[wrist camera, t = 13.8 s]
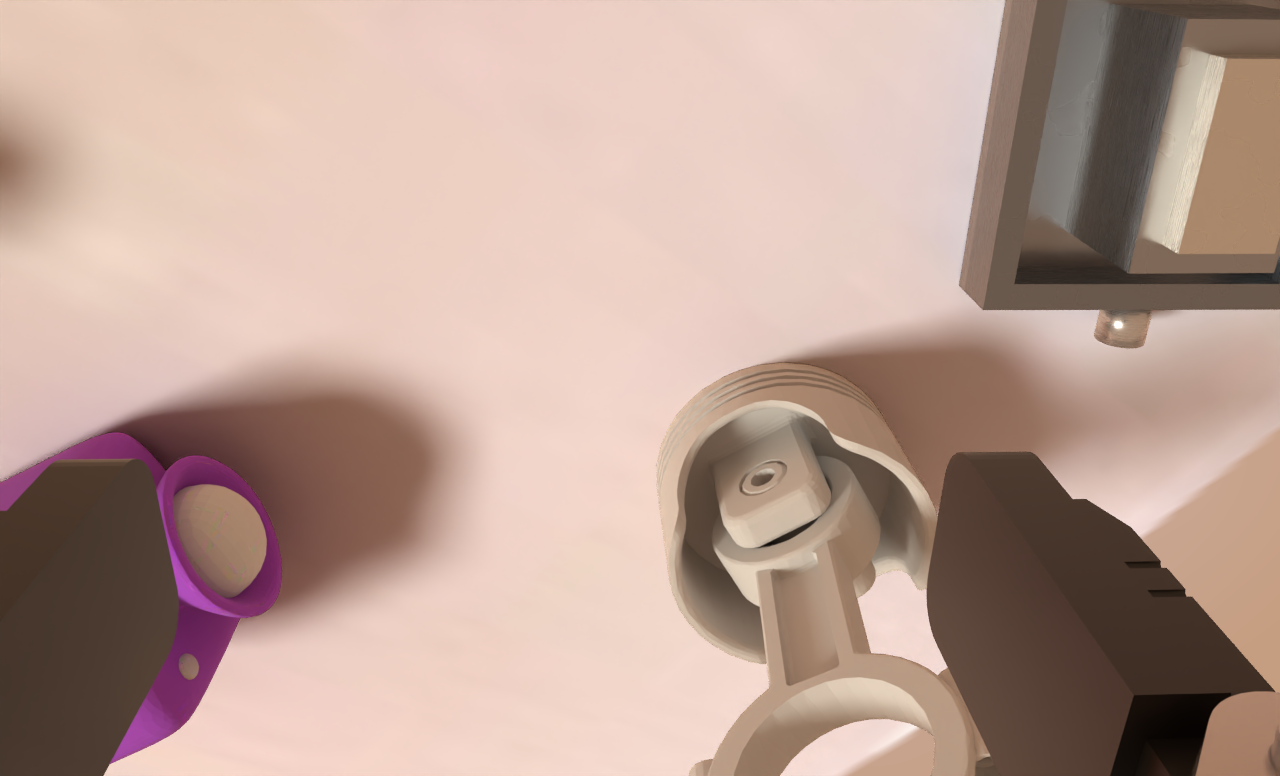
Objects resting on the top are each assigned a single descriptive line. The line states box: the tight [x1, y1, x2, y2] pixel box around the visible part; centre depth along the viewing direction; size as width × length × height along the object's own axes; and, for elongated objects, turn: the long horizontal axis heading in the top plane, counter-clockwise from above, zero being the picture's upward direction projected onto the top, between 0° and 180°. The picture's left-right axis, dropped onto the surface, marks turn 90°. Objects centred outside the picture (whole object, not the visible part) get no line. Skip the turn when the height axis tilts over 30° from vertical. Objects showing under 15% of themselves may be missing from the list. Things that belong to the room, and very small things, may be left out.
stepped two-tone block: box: [1064, 3, 1280, 274], centre depth 34 cm, size 8×5×6 cm, turn 179°
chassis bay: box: [959, 0, 1280, 348], centre depth 36 cm, size 16×12×3 cm
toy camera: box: [0, 432, 282, 764], centre depth 38 cm, size 11×14×10 cm
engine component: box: [656, 363, 1000, 776], centre depth 34 cm, size 11×20×10 cm
